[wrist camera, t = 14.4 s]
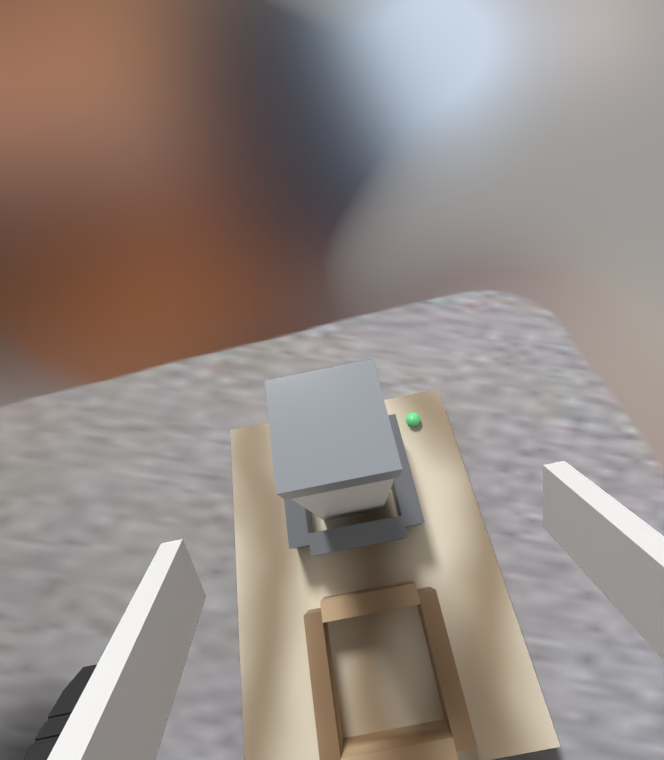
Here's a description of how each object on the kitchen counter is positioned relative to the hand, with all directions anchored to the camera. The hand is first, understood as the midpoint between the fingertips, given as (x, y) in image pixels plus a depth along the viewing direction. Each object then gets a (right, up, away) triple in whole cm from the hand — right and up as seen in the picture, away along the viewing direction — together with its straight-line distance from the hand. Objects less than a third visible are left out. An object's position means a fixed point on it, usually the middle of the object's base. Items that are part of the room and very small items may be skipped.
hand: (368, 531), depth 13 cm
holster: (+1, -10, +7) cm, 12 cm away
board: (+1, -6, +10) cm, 12 cm away
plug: (0, -2, +11) cm, 11 cm away
